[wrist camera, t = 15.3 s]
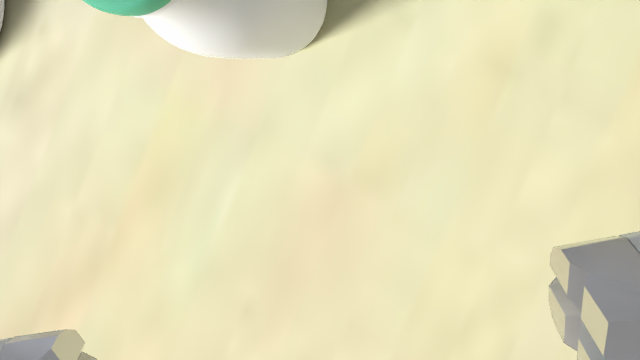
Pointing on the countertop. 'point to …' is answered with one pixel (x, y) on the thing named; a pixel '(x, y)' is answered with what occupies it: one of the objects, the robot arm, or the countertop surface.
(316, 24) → the milk bottle
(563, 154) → the countertop surface
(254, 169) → the countertop surface
